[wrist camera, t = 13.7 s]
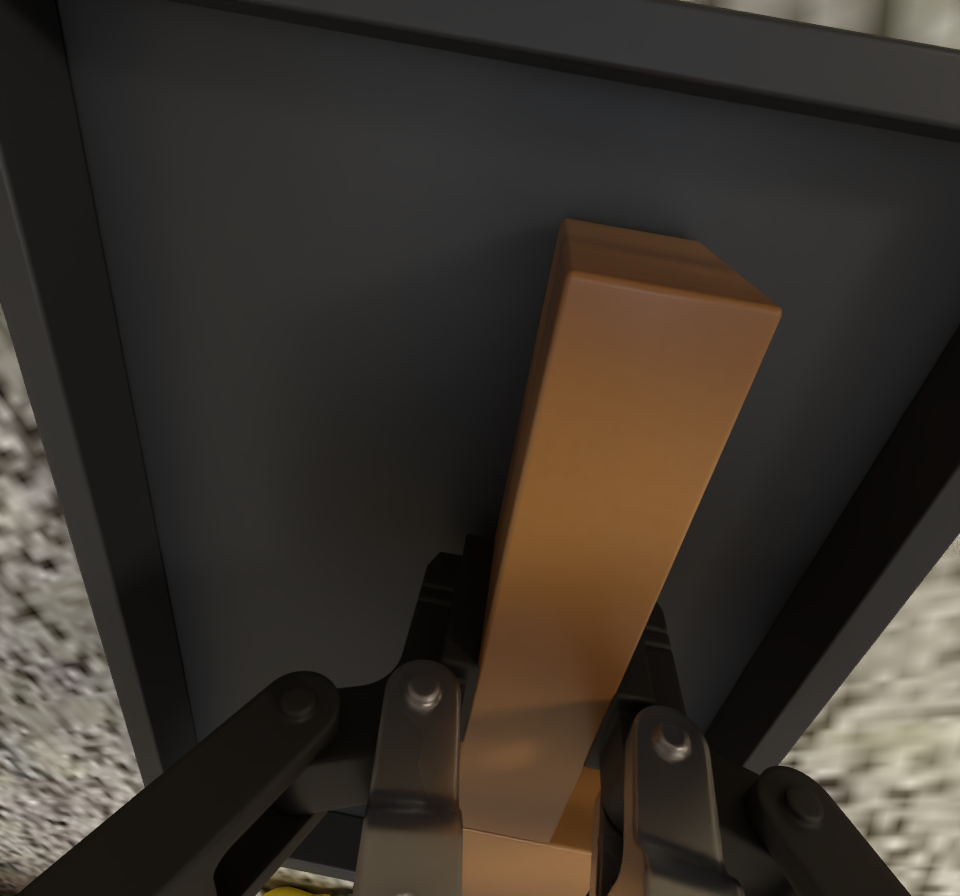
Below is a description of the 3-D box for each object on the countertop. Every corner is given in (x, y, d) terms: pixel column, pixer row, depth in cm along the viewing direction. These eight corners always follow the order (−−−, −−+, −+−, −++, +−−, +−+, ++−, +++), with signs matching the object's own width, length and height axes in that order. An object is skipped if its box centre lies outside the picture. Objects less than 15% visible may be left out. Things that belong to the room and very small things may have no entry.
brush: (485, 203, 9) (447, 248, 6) (779, 254, 9) (910, 330, 6) (405, 776, 19) (371, 923, 15) (551, 805, 19) (551, 960, 15)
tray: (16, -86, 9) (-138, -146, 7) (1123, 111, 9) (1296, 107, 7) (195, 778, 22) (160, 842, 20) (632, 868, 22) (640, 942, 20)
